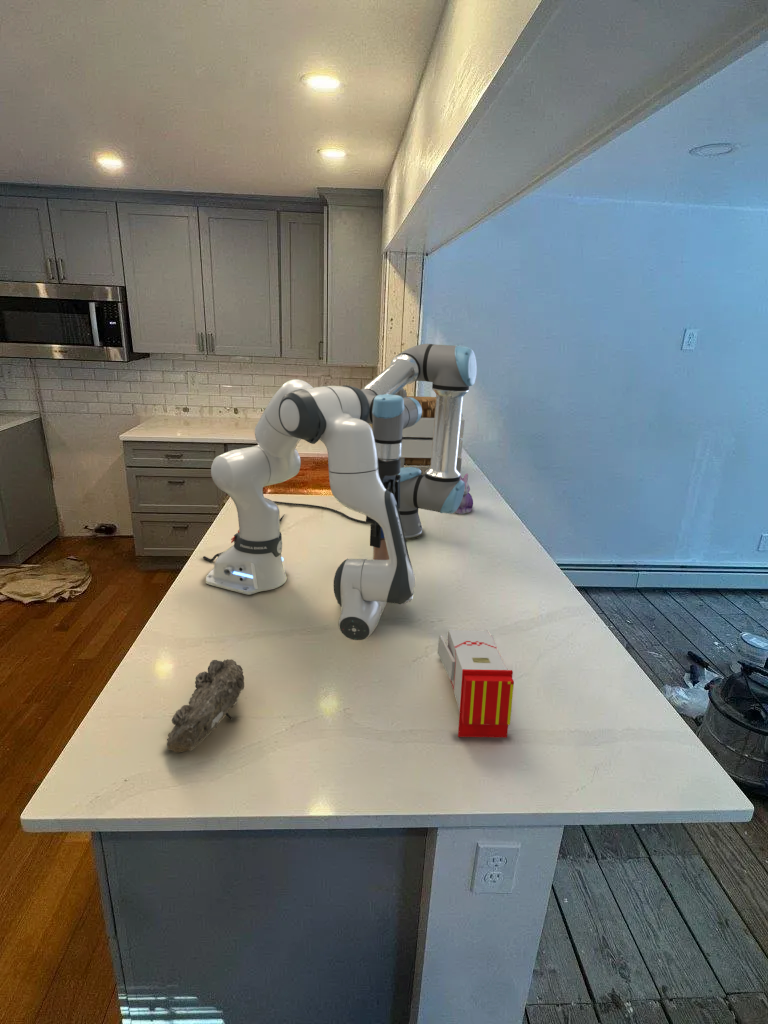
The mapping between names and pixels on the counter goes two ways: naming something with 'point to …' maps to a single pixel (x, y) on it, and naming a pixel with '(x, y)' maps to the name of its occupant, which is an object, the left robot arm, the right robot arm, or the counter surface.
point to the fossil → (206, 705)
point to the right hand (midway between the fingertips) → (382, 541)
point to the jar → (381, 551)
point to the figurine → (465, 498)
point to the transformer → (423, 435)
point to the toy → (478, 682)
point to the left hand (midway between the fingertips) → (381, 573)
